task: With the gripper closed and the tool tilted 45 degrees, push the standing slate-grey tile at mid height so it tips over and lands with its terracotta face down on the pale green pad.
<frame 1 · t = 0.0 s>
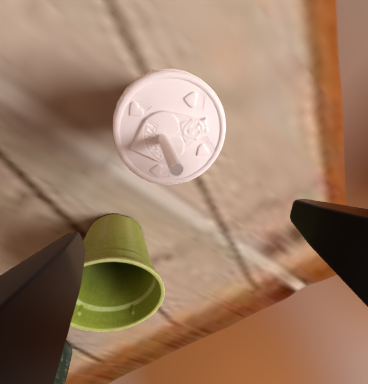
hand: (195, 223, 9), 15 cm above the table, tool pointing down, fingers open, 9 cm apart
plant pot: (115, 233, 27), on the table
coffee jar: (40, 342, 34), on the table
smoothie: (155, 105, 21), on the table
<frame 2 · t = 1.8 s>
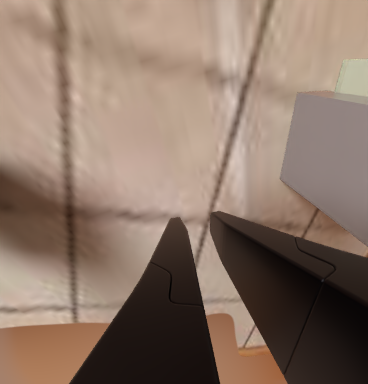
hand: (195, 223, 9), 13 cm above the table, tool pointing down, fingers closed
slate tile: (300, 138, 24), on the table
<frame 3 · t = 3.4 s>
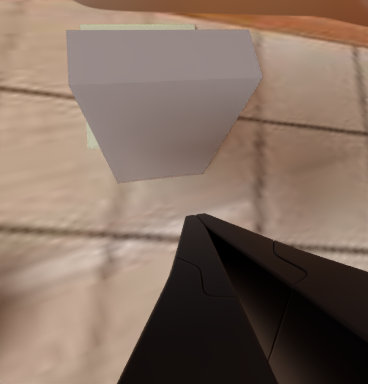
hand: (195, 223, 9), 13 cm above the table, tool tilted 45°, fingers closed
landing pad: (147, 82, 27), on the table
slate tile: (159, 165, 24), on the table
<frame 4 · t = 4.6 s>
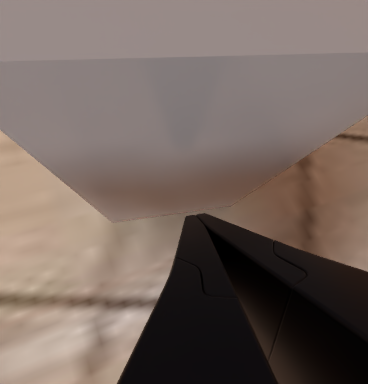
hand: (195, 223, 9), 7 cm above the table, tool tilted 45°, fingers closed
slate tile: (171, 194, 17), on the table
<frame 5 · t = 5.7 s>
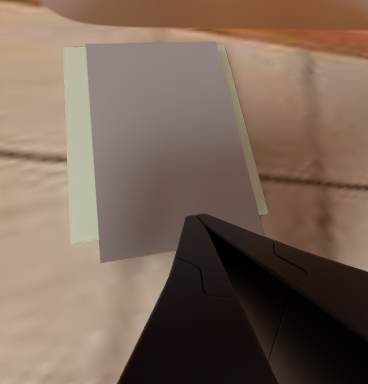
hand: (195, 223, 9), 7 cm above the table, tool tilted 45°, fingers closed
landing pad: (160, 130, 18), on the table
slate tile: (183, 249, 14), point 2 cm above the table, tilted 90°, touching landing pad
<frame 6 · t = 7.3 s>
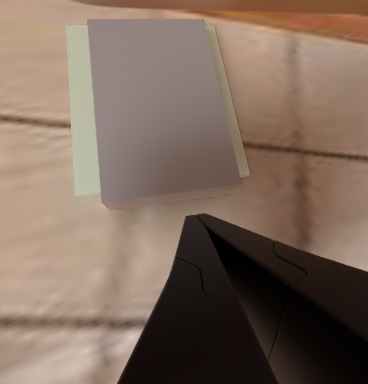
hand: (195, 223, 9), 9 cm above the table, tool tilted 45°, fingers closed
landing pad: (154, 101, 20), on the table
slate tile: (173, 198, 16), point 2 cm above the table, tilted 90°, touching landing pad
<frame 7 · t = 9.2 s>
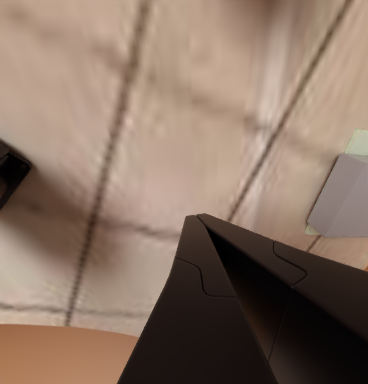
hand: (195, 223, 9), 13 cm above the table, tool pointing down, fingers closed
slate tile: (332, 196, 25), point 2 cm above the table, tilted 90°, touching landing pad
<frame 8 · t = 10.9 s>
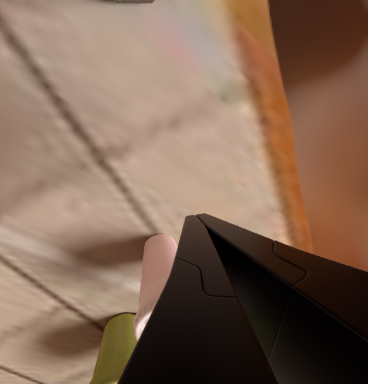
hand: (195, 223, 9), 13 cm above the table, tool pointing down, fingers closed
plant pot: (126, 323, 33), on the table
smoothie: (159, 245, 27), on the table
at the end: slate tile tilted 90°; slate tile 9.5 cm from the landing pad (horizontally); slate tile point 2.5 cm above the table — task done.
